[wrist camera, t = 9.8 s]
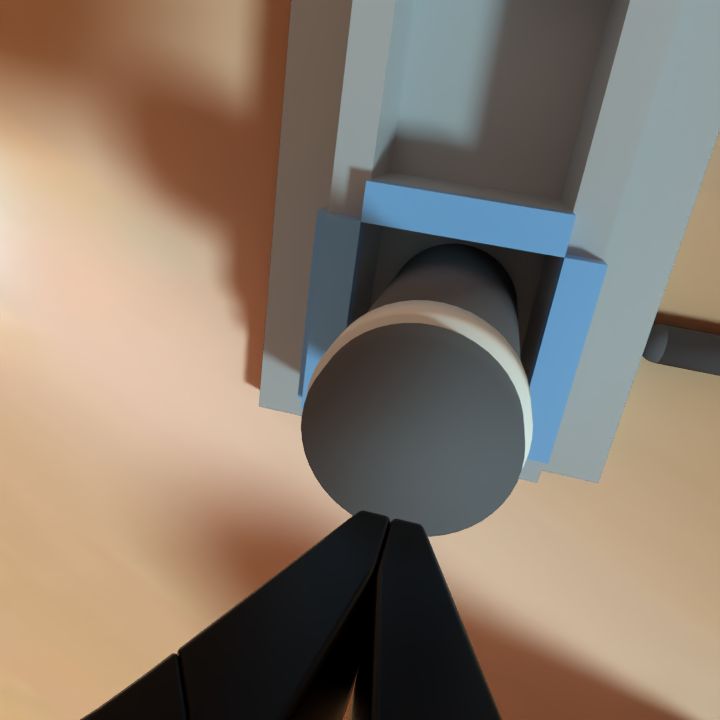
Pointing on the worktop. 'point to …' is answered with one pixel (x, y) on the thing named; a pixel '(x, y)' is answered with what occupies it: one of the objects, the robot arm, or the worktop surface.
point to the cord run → (683, 349)
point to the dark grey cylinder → (425, 397)
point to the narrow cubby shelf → (494, 182)
